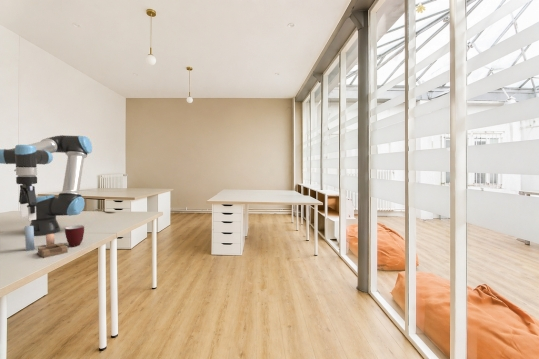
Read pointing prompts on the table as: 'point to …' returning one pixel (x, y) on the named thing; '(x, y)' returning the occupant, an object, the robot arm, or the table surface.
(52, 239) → the short peg
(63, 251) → the socket block
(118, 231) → the table surface
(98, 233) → the table surface
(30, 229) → the long peg
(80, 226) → the mug
